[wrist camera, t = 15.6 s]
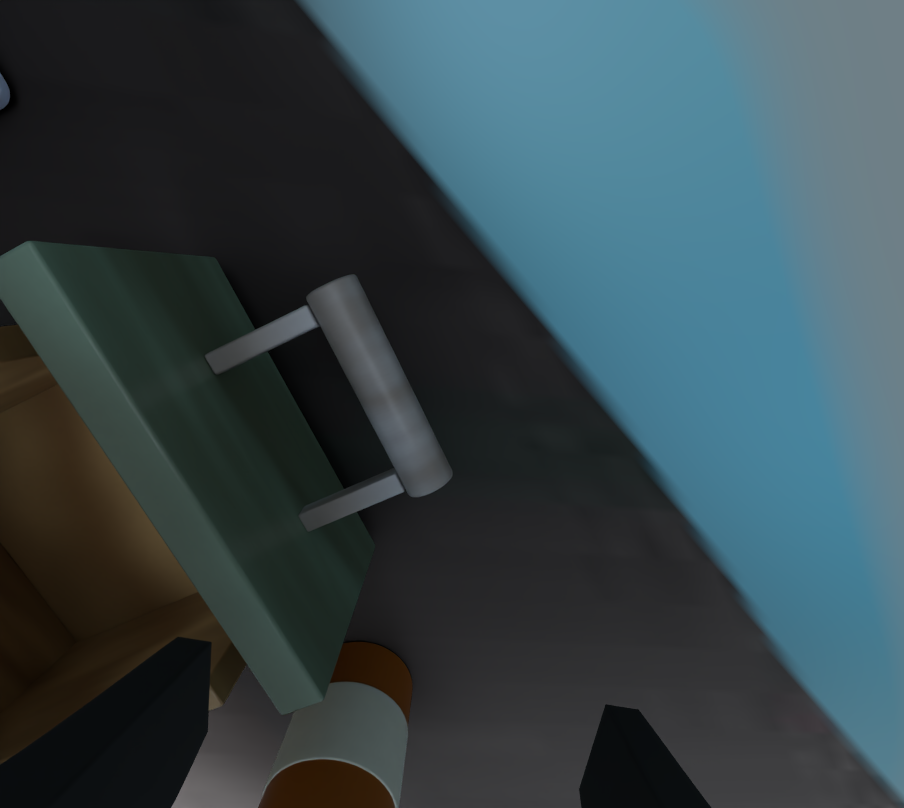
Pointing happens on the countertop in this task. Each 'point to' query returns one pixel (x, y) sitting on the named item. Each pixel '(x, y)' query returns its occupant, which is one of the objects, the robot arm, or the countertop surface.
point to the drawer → (177, 480)
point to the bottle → (347, 737)
